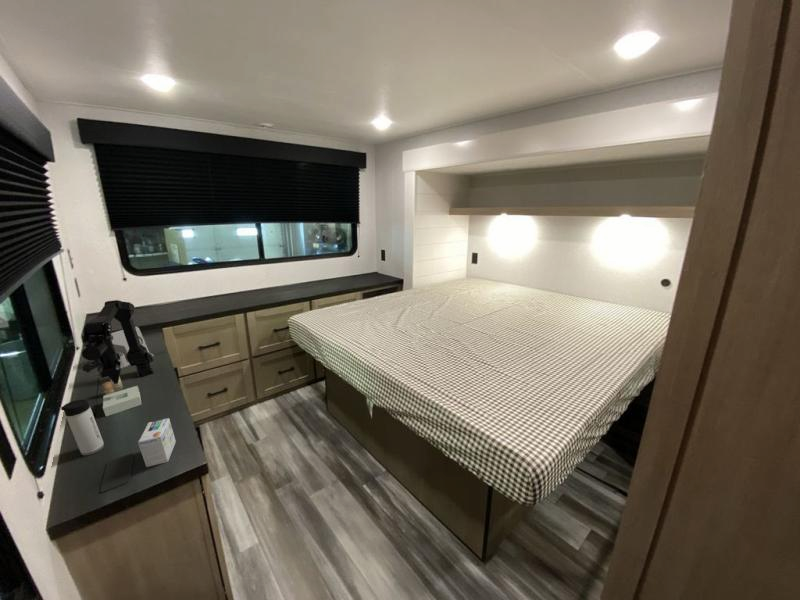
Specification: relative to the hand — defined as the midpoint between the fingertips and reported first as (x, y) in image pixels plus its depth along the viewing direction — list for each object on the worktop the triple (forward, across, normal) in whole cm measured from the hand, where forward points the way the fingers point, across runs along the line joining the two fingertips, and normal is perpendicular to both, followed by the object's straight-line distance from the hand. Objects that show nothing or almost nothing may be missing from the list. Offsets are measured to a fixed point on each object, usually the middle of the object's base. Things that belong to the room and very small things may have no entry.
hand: (116, 381), depth 141 cm
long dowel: (+4, 0, 0) cm, 4 cm away
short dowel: (+11, -14, -4) cm, 18 cm away
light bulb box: (+11, +48, +9) cm, 50 cm away
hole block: (+11, 0, 0) cm, 11 cm away
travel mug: (+11, +28, -10) cm, 32 cm away
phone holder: (+12, -50, +6) cm, 51 cm away
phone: (+12, +48, -3) cm, 50 cm away
